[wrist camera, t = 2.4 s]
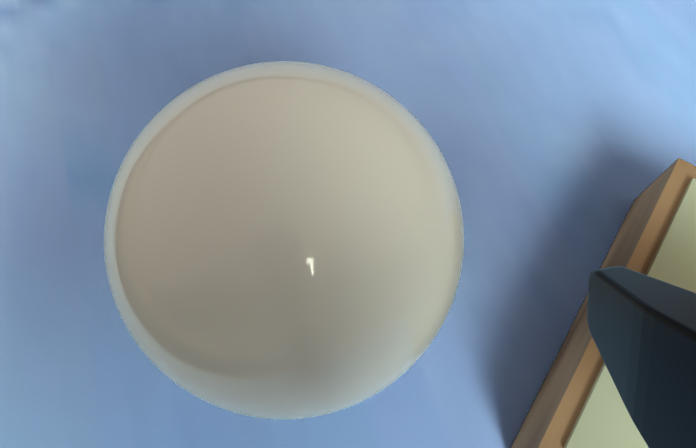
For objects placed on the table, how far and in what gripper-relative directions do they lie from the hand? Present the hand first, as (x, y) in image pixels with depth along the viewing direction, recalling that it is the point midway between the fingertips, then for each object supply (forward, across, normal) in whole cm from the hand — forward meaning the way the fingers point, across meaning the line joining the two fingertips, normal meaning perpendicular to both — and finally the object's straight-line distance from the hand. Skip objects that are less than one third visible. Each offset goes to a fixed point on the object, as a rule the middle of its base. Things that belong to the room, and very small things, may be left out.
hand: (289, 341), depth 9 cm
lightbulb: (+8, 0, +5) cm, 10 cm away
